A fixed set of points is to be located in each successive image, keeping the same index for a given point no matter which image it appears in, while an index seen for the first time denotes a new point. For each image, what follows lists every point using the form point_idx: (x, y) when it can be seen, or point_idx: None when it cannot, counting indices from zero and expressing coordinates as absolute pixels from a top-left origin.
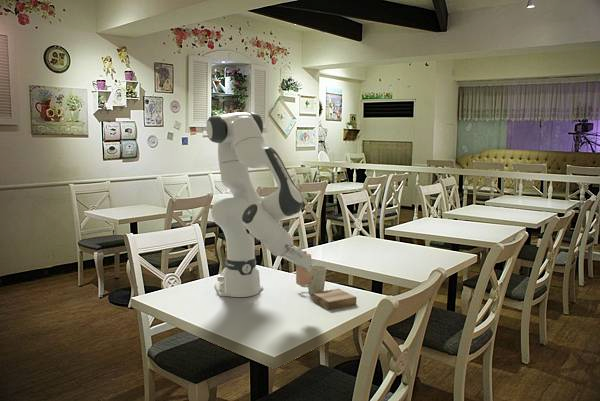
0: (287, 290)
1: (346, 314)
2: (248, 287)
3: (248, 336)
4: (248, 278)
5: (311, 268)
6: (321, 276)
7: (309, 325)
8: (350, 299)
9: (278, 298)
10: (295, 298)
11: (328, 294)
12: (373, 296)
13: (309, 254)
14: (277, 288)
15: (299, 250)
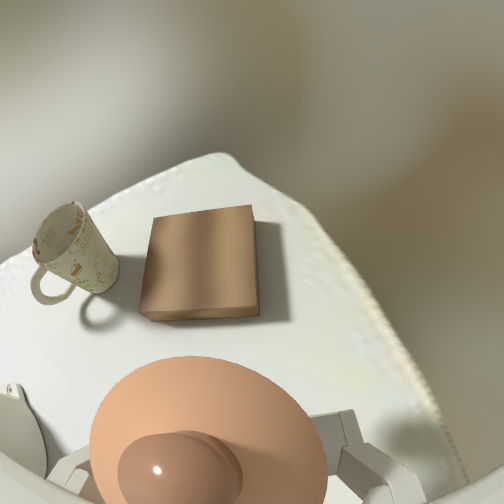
0: (51, 336)
1: (322, 281)
2: (24, 452)
3: None
4: (2, 447)
5: (352, 414)
6: (93, 237)
7: (368, 435)
8: (252, 226)
9: (84, 400)
10: (107, 356)
11: (180, 269)
12: (217, 163)
13: (200, 375)
14: (30, 349)
15: None
